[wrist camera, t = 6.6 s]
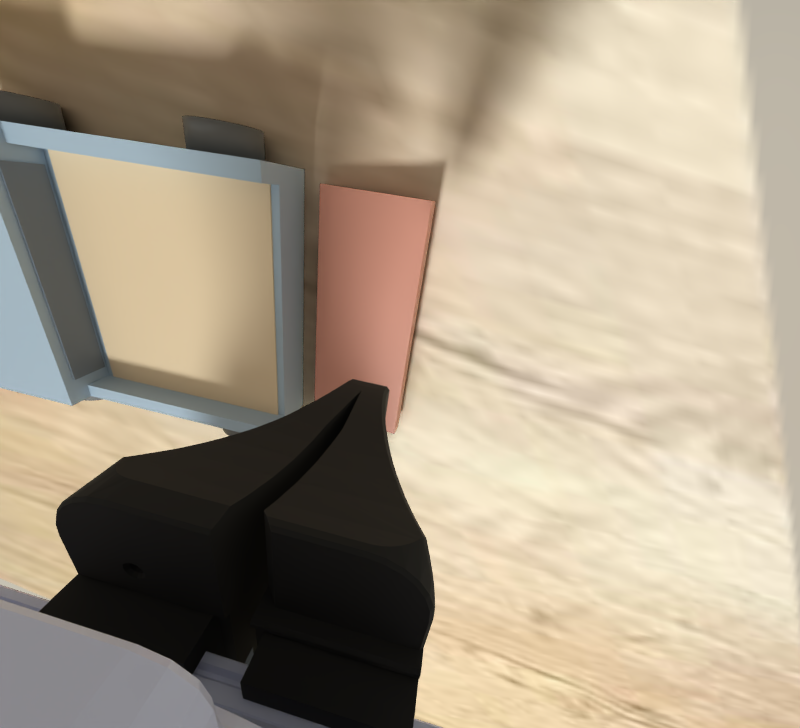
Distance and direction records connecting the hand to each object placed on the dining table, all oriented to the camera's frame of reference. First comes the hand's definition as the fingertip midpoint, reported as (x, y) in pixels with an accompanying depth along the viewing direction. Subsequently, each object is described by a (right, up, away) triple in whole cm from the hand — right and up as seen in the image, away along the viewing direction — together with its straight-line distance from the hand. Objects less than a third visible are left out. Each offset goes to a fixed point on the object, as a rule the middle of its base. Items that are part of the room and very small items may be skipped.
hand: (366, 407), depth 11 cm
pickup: (-13, +7, +9) cm, 17 cm away
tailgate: (-3, +5, +8) cm, 10 cm away
